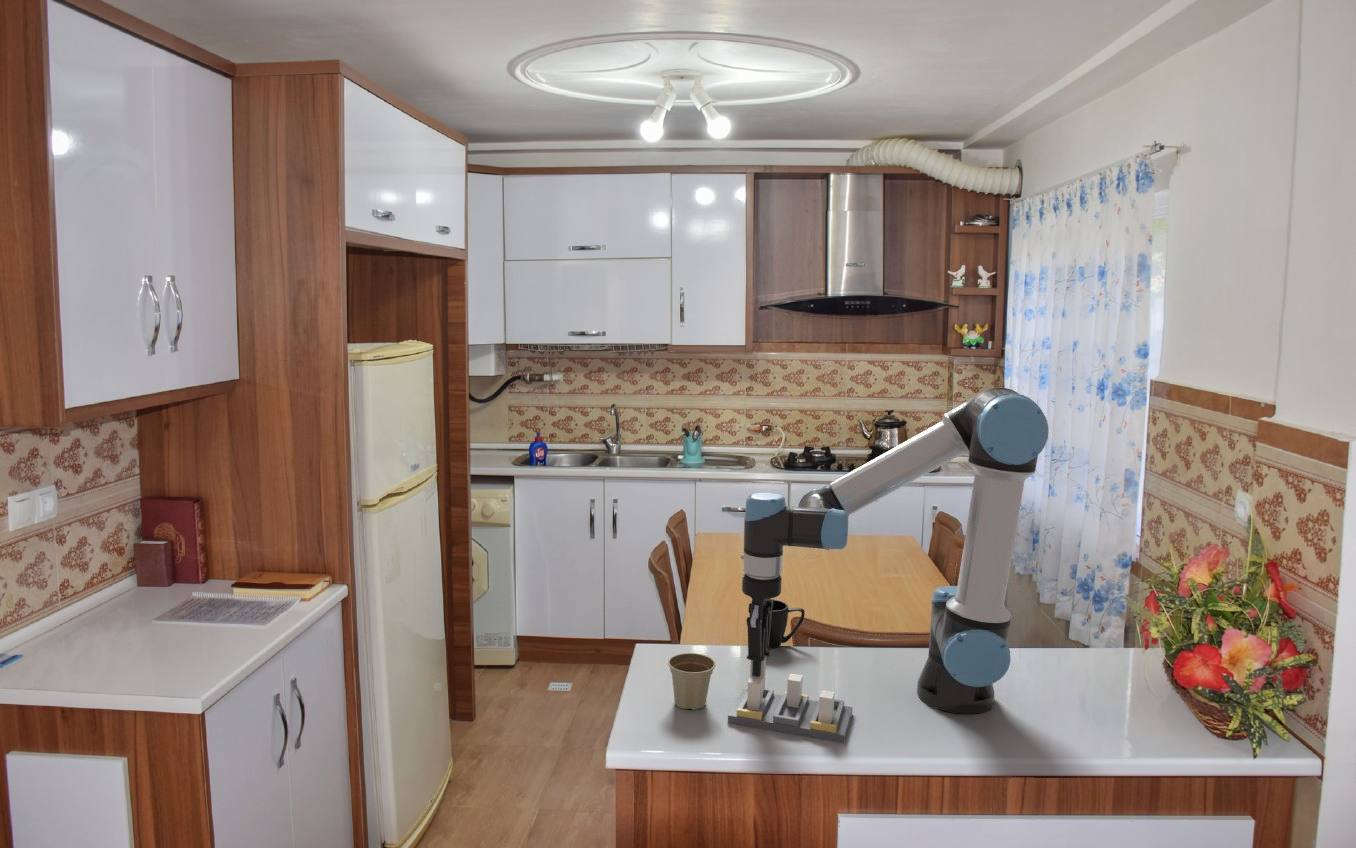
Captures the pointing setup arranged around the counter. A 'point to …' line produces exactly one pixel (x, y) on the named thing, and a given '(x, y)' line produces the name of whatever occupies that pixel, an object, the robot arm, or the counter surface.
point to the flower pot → (691, 679)
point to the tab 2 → (794, 690)
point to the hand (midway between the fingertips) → (757, 689)
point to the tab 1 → (755, 693)
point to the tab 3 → (826, 707)
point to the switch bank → (792, 716)
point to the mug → (781, 623)
